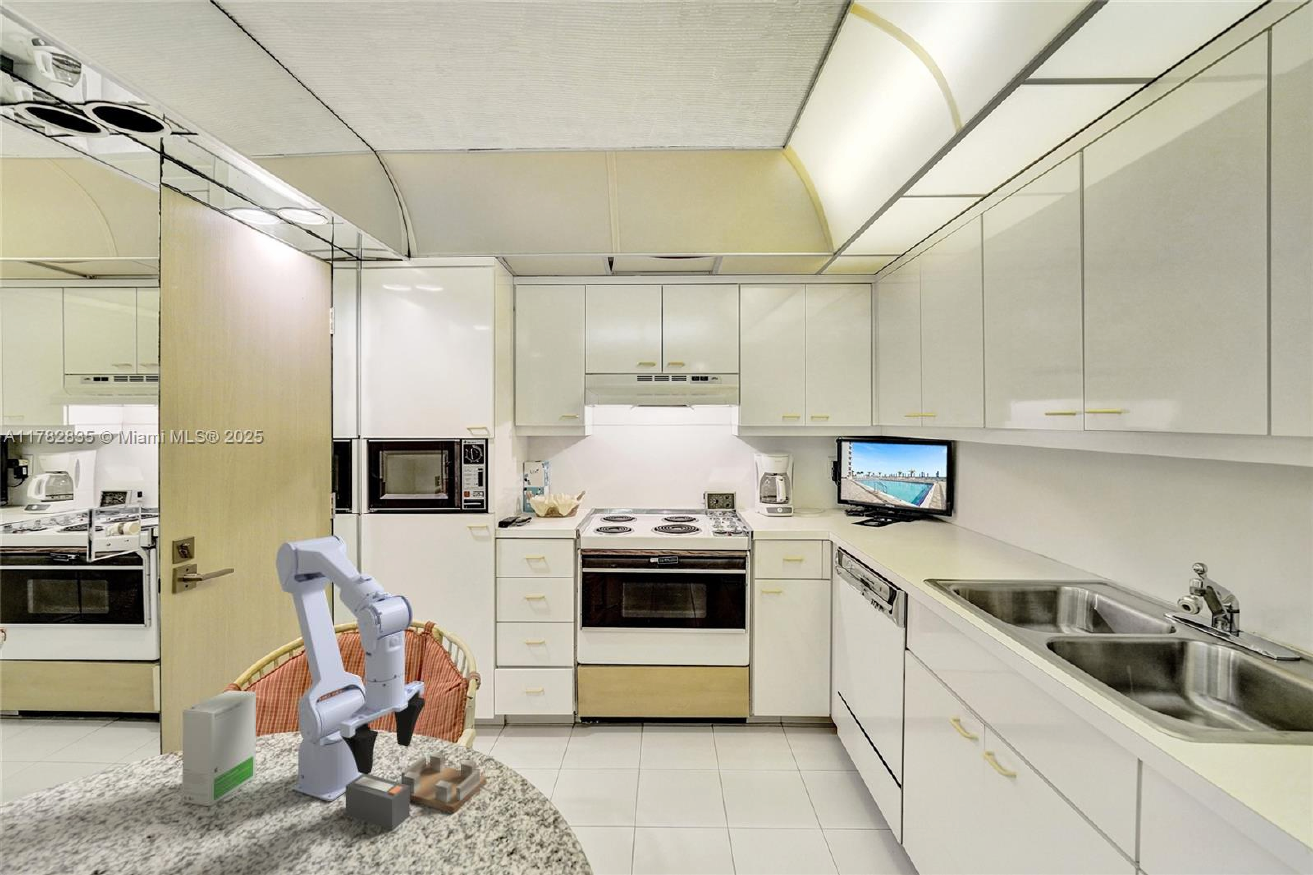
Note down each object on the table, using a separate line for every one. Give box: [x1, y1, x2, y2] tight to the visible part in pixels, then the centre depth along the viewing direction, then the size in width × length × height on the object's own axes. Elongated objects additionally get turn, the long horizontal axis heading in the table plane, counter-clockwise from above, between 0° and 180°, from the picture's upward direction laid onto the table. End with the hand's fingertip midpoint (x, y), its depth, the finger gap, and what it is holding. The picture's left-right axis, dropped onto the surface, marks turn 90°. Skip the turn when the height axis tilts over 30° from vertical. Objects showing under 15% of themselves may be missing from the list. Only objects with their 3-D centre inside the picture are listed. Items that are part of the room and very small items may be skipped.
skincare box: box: [181, 690, 257, 807], centre depth 90 cm, size 8×7×16 cm
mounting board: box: [401, 751, 487, 814], centre depth 89 cm, size 13×8×4 cm, turn 70°
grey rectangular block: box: [345, 774, 411, 832], centre depth 83 cm, size 10×3×5 cm, turn 70°
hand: (385, 757), depth 83 cm, fingers open, 7 cm apart
